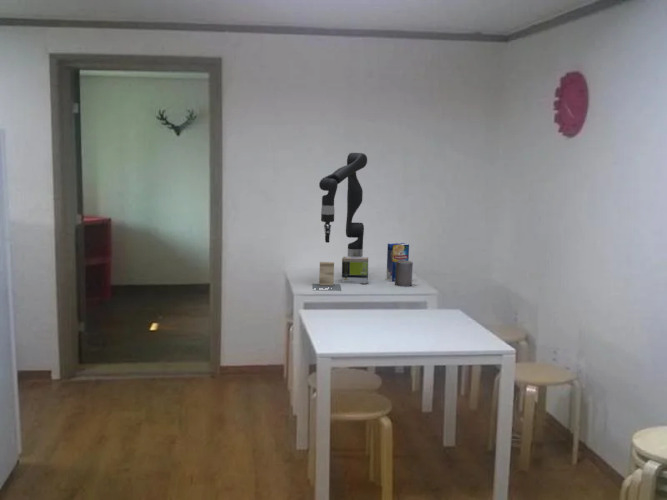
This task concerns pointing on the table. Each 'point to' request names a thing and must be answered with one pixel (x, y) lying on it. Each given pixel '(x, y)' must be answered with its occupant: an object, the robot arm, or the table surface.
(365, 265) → the tea box
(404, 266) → the pillar candle
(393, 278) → the blue food box
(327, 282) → the block
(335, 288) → the mat
